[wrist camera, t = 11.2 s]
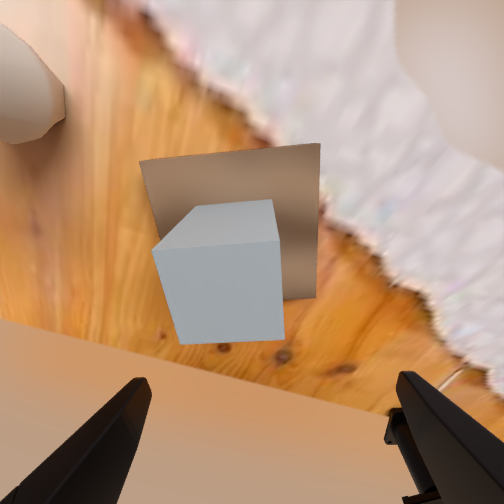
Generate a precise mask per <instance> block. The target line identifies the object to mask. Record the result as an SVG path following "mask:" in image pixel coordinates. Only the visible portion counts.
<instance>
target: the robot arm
mask: <svg viewBox="0 0 504 504" xmlns="http://www.w3.org/2000/svg"><path fill="white" fill-rule="evenodd" d="M396 392H397V396H398V398H399V401H400V403H401V406H402V409H393V410H392V411H391V413H390V417H389V422H388V425H387V429H386V433H385V436H384V441H385V443H386V444H388V445H398V447H399V449H400V451H401V454H402V456H403V458H404V460H405V463H406V465H407V467H408V469H409V472H410V474H411V476H412V478H413V480H414V483H415V485H416V487H417V489H418V492H419V494H418V495H414V496H410V497H408V496H405V497H402V500H403V503H404V504H504V442H502V441H501V440H500V439H499V438H497V437H496V436H495V435H494V434H492V433H491V432H490V431H489V430H487V429H486V428H485V427H483V426H482V425H481V424H480V423H478V422H477V421H476V420H475V419H473V418H472V417H471V416H470V415H468V414H467V413H466V412H465V411H463V410H462V409H461V408H460V407H458V406H457V405H456V404H455V403H453V402H452V401H451V400H450V399H448V398H447V397H446V396H445V395H443V394H442V393H441V392H439V391H438V390H437V389H436V388H434V387H433V386H432V385H431V384H429V383H428V382H427V381H426V380H424V379H423V378H422V377H421V376H419V375H418V374H417V373H415V372H414V371H401V372H400V373H399V376H398V380H397V384H396ZM151 397H152V392H151V389H150V387H149V384H148V382H147V379H146V378H144V377H136V378H133V379H132V380H131V381H130V382H129V383H128V384H126V386H124V387H123V388H122V389H121V390H120V391H119V392H118V393H117V394H116V395H115V396H114V397H113V398H111V399H110V400H109V401H108V402H107V403H106V404H105V405H104V406H103V407H102V408H101V409H99V410H98V411H97V412H96V413H95V414H94V415H93V416H92V417H91V418H90V419H89V420H88V421H87V422H86V423H84V424H83V425H82V426H81V427H80V428H79V429H78V430H77V431H76V432H75V433H74V434H73V435H71V436H70V437H69V438H68V439H67V440H66V441H65V442H64V443H63V444H62V445H61V446H60V447H59V448H57V449H56V450H55V451H54V452H53V453H52V454H51V455H50V456H49V457H48V458H47V459H46V460H45V461H44V462H42V463H41V464H40V465H39V466H38V467H37V468H36V469H35V470H34V471H33V472H32V473H31V474H30V475H28V476H27V477H26V478H25V479H24V480H23V481H22V482H21V483H20V485H19V486H17V487H16V488H14V489H13V490H12V491H11V492H10V493H9V494H8V495H7V496H6V497H5V498H4V499H2V500H1V501H0V504H117V501H118V499H119V496H120V493H121V490H122V488H123V485H124V482H125V479H126V477H127V474H128V472H129V469H130V466H131V464H132V461H133V458H134V456H135V453H136V450H137V447H138V444H139V440H140V437H141V434H142V430H143V426H144V423H145V419H146V415H147V412H148V408H149V405H150V401H151Z"/></svg>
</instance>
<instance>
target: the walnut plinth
mask: <svg viewBox="0 0 504 504" xmlns="http://www.w3.org/2000/svg"><path fill="white" fill-rule="evenodd" d="M139 164H140V168H141V171H142V175H143V178H144V182H145V186H146V189H147V193H148V197H149V200H150V204H151V207H152V211H153V215H154V218H155V222H156V225H157V229H158V233H159V236H160V240H162V239H163V238H164V237H165V236H166V235H167V234H168V233H169V232H170V231H171V230H172V229H173V228H174V227H175V226H176V225H177V224H178V223H179V222H180V221H181V220H182V219H183V218H184V217H185V216H186V215H187V214H188V213H189V212H190V211H191V210H192V209H193V208H194V207H195V206H200V205H211V204H222V203H233V202H245V201H256V200H267V199H272V202H273V208H274V213H275V218H276V223H277V229H278V234H279V239H280V255H281V274H282V294H283V300H291V299H310V298H316V278H317V244H318V210H319V176H320V143H311V144H301V145H291V146H280V147H270V148H260V149H250V150H240V151H230V152H220V153H210V154H200V155H190V156H180V157H169V158H159V159H150V160H144V161H139Z"/></svg>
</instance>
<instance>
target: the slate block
mask: <svg viewBox="0 0 504 504" xmlns="http://www.w3.org/2000/svg"><path fill="white" fill-rule="evenodd" d="M151 251H152V255H153V258H154V261H155V264H156V268H157V271H158V274H159V277H160V281H161V284H162V287H163V290H164V294H165V297H166V300H167V303H168V307H169V310H170V313H171V316H172V320H173V323H174V326H175V329H176V333H177V336H178V339H179V342H180V345H181V344H203V343H225V342H247V341H268V340H285V334H284V314H283V294H282V274H281V255H280V239H279V234H278V229H277V223H276V218H275V213H274V208H273V202H272V199H267V200H256V201H245V202H233V203H222V204H211V205H200V206H195V207H194V208H193V209H192V210H191V211H190V212H189V213H188V214H187V215H186V216H185V217H184V218H183V219H182V220H181V221H180V222H179V223H178V224H177V225H176V226H175V227H174V228H173V229H172V230H171V231H170V232H169V233H168V234H167V235H166V236H165V237H164V238H163V239H162V240H161V241H160V242H159V243H158V244H157V245H156V246H155V247H154V248H153V249H152V250H151Z"/></svg>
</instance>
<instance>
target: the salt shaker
mask: <svg viewBox="0 0 504 504" xmlns="http://www.w3.org/2000/svg"><path fill="white" fill-rule="evenodd" d="M63 118H65V101H64V85H63V84H62V83H61V81H60V80H59V79H58V78H57V77H56V76H55V75H54V73H53V72H52V71H51V70H50V69H49V68H48V66H47V65H46V64H45V63H44V62H43V60H42V59H41V58H40V57H39V56H38V54H37V53H36V52H35V51H34V50H33V48H32V47H31V46H30V45H28V44H27V43H26V42H25V41H24V40H22V39H21V38H20V37H19V36H18V35H16V34H15V33H14V32H13V31H12V30H10V29H9V28H8V27H7V26H5V25H3V24H2V23H0V142H3V143H8V144H14V145H16V144H20V143H24V142H28V141H32V140H36V139H40V138H42V137H43V136H44V135H45V134H46V133H47V132H48V130H49V129H50V128H51V127H52V126H53V125H54V124H55V123H57V122H58V121H60V120H62V119H63Z"/></svg>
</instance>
